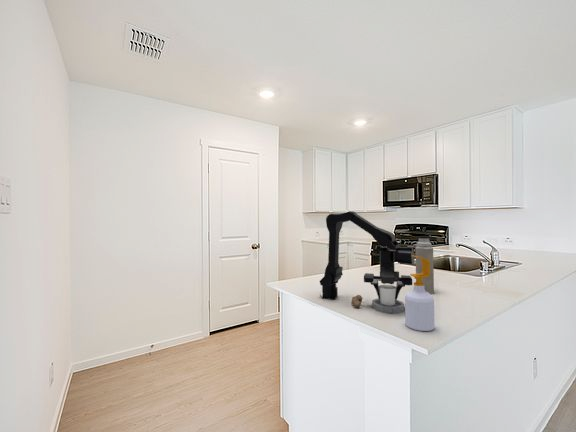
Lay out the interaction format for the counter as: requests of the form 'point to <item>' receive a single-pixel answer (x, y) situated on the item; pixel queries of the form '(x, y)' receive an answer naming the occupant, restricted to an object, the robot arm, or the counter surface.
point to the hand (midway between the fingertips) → (387, 299)
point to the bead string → (356, 301)
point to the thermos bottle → (426, 252)
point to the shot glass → (387, 294)
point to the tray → (388, 306)
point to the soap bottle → (420, 302)
